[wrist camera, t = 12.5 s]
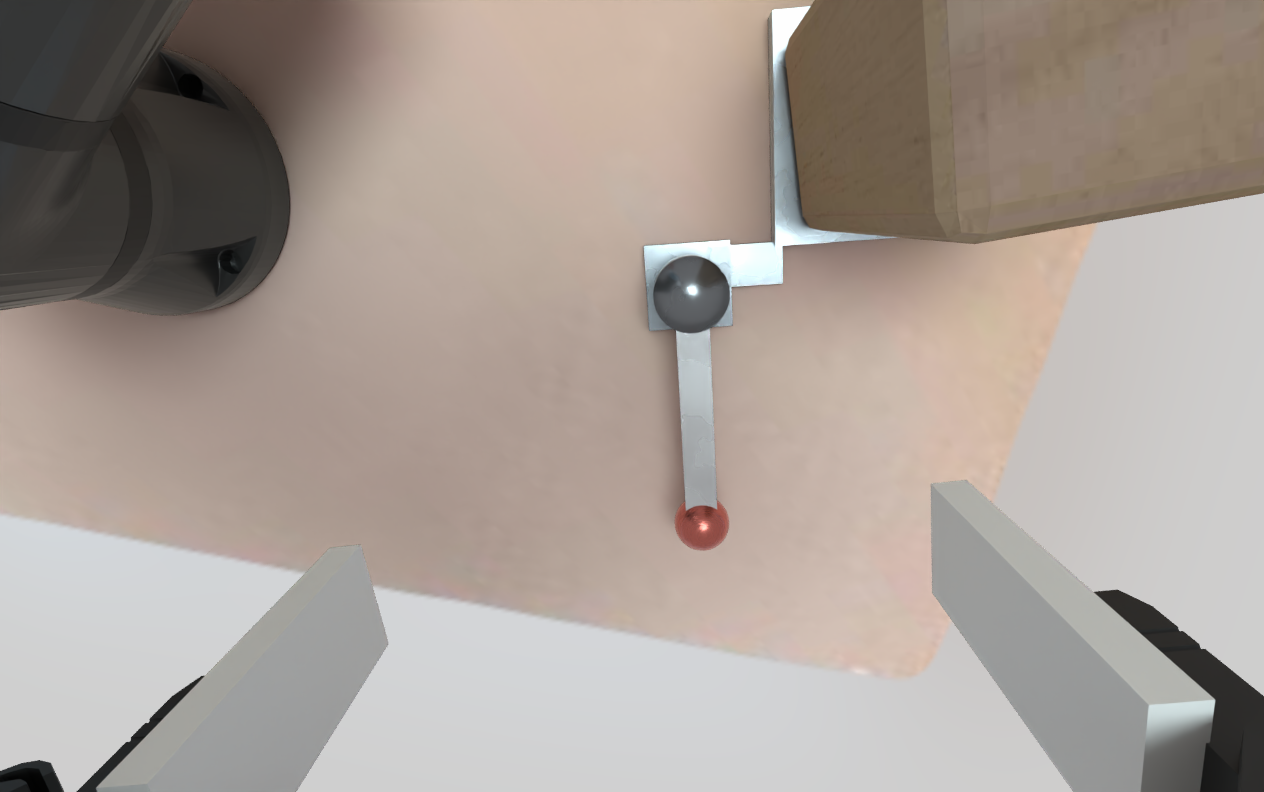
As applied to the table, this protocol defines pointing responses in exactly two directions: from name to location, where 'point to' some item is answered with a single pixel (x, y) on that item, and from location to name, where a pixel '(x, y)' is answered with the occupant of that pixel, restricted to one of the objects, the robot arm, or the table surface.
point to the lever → (695, 388)
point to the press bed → (787, 218)
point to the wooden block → (1022, 112)
